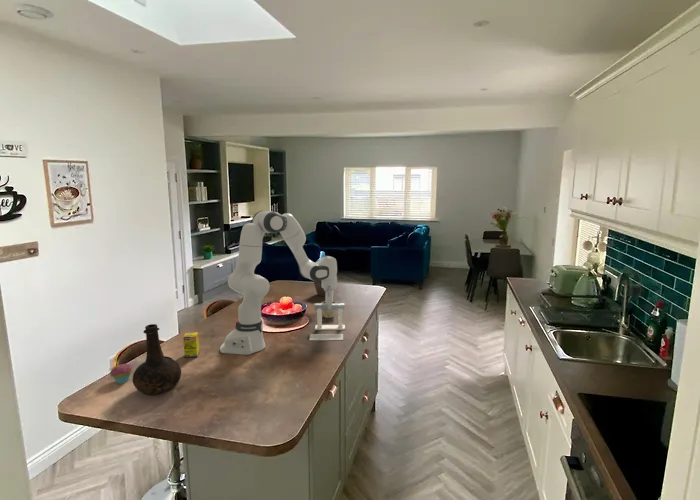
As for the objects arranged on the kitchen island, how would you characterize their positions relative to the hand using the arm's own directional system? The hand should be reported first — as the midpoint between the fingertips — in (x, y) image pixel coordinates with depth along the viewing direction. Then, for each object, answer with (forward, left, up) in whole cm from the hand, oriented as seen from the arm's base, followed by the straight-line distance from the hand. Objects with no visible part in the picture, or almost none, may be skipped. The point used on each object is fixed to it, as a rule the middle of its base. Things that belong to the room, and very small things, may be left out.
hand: (329, 307), depth 237 cm
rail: (0, 0, -1) cm, 1 cm away
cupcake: (-87, -60, -13) cm, 107 cm away
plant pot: (-7, +68, -13) cm, 70 cm away
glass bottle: (-68, -68, -13) cm, 97 cm away
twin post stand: (0, 0, -12) cm, 12 cm away
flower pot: (-1, +20, -13) cm, 24 cm away
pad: (-1, -14, -12) cm, 19 cm away
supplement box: (-66, -35, -13) cm, 76 cm away
